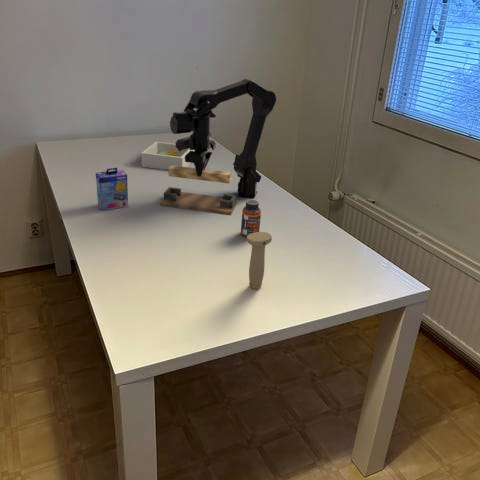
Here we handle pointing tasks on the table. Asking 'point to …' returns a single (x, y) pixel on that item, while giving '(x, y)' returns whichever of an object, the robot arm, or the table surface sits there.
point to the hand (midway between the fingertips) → (200, 174)
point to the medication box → (169, 153)
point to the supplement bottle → (250, 218)
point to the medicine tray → (163, 156)
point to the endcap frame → (199, 201)
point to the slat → (206, 175)
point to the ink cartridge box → (112, 189)
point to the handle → (257, 257)
